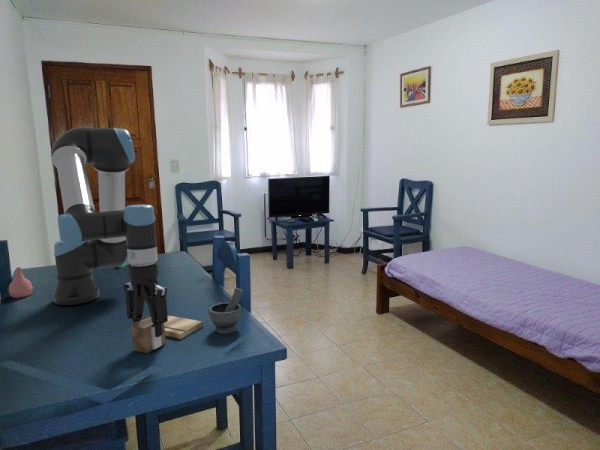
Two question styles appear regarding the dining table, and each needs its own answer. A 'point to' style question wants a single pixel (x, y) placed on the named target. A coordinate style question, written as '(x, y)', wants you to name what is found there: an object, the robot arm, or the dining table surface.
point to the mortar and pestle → (227, 313)
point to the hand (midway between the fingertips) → (149, 345)
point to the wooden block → (144, 335)
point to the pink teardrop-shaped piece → (20, 285)
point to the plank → (180, 326)
